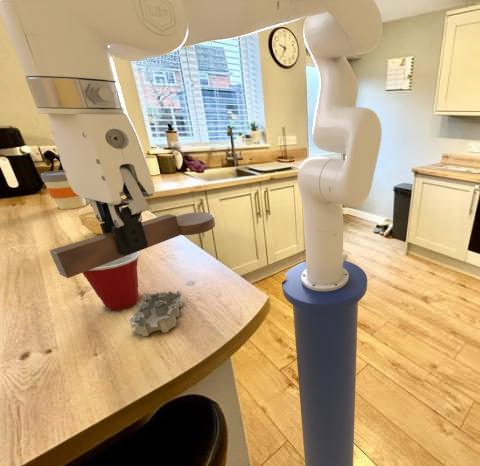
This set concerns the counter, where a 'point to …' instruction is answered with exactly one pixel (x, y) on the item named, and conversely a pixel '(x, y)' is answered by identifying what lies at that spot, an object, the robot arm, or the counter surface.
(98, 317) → the counter surface
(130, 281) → the plastic cup
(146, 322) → the crystal geode chunk
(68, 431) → the counter surface
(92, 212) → the cream rounded lump
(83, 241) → the spoon
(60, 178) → the reusable coffee cup
